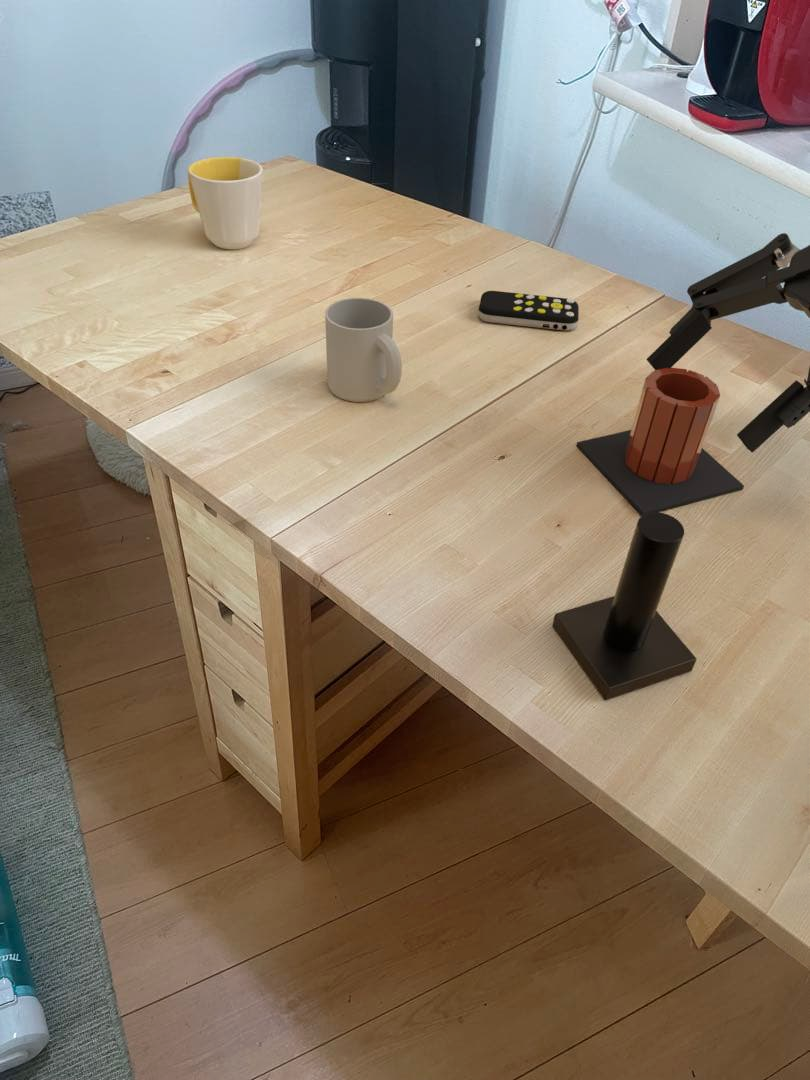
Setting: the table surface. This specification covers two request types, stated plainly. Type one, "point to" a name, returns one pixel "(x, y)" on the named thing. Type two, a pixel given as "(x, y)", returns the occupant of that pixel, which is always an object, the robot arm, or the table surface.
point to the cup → (361, 350)
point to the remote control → (529, 310)
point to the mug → (227, 199)
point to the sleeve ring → (671, 424)
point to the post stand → (631, 618)
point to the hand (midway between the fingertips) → (696, 404)
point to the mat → (647, 494)
